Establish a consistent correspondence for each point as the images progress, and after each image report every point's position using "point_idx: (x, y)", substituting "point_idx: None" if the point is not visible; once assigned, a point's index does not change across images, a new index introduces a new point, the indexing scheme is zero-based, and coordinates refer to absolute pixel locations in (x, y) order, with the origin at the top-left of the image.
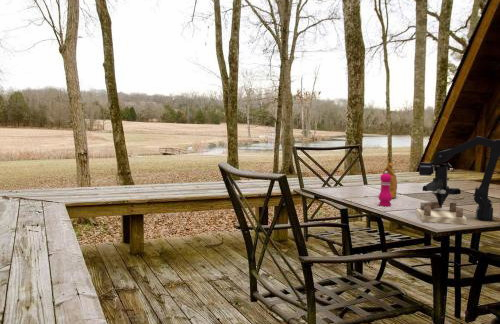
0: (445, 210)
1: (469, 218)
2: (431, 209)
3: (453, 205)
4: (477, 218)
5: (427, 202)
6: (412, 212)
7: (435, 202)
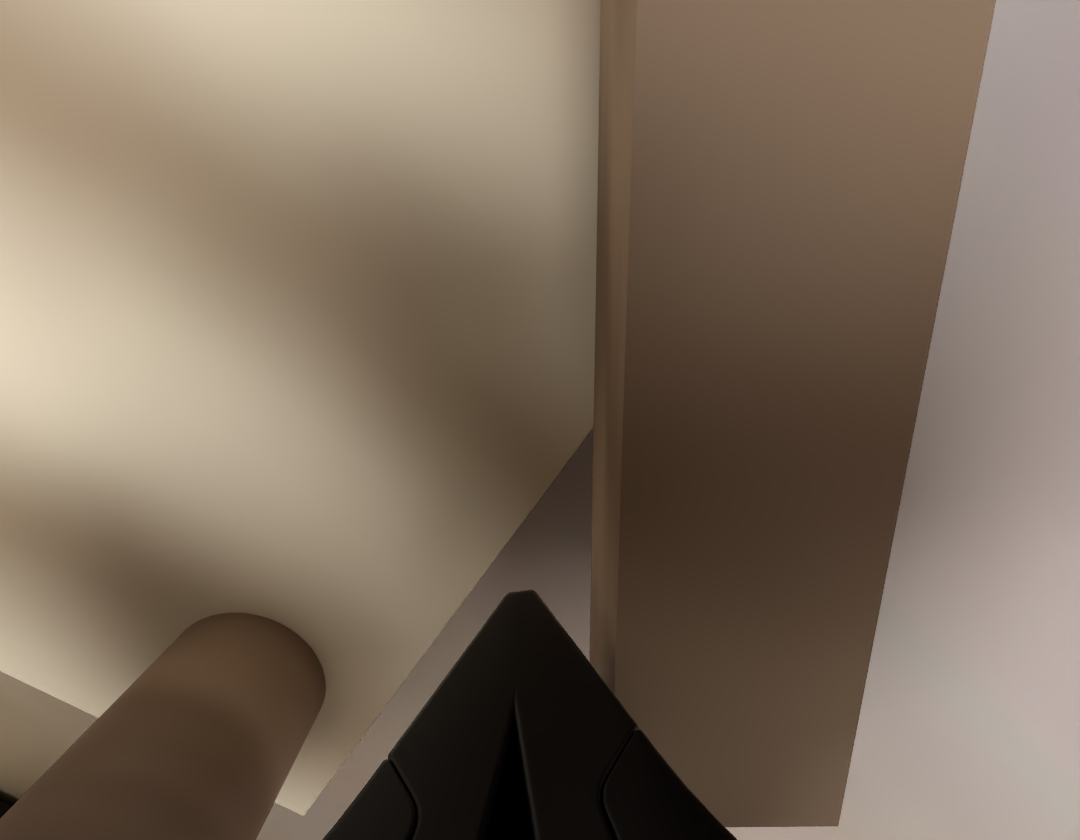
0: (354, 570)
1: None
2: None
3: (23, 798)
4: None
5: (913, 272)
6: (1068, 66)
7: (731, 627)
